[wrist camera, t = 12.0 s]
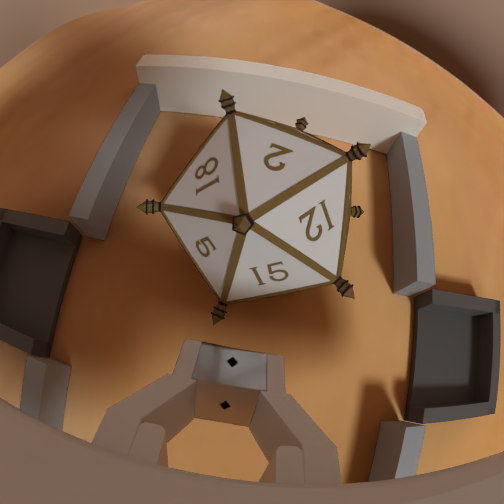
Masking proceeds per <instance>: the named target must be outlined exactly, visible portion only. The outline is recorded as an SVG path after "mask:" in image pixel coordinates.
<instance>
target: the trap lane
mask: <svg viewBox="0 0 504 504" xmlns="http://www.w3.org/2000/svg"><path fill="white" fill-rule="evenodd" d="M135 67H136V72H137V76H138V81H139V84H138V86H137V87H136V89H135V90H134V92H133V93H132V95H131V96H130V98H129V99H128V101H127V103H126V104H125V106H124V107H123V109H122V111H121V112H120V114H119V116H118V117H117V119H116V121H115V122H114V124H113V126H112V128H111V129H110V131H109V133H108V135H107V137H106V138H105V140H104V142H103V144H102V146H101V148H100V149H99V151H98V153H97V155H96V157H95V159H94V161H93V163H92V165H91V167H90V169H89V171H88V173H87V175H86V177H85V179H84V182H83V184H82V186H81V188H80V190H79V192H78V195H77V197H76V199H75V201H74V204H73V206H72V208H71V211H70V213H69V217H70V218H71V219H72V220H73V222H74V223H75V224H76V225H77V226H78V227H79V228H80V229H81V231H82V232H83V233H84V234H85V235H86V236H87V237H91V238H96V239H101V240H105V238H106V235H107V232H108V229H109V226H110V224H111V221H112V218H113V216H114V213H115V210H116V208H117V205H118V203H119V200H120V197H121V195H122V193H123V190H124V188H125V185H126V183H127V180H128V178H129V176H130V173H131V171H132V169H133V167H134V164H135V162H136V160H137V158H138V155H139V153H140V151H141V149H142V147H143V145H144V143H145V141H146V138H147V136H148V134H149V132H150V130H151V128H152V126H153V124H154V122H155V120H156V118H157V116H158V115H159V113H160V111H170V112H181V113H191V114H200V115H208V116H216V117H224V116H225V115H226V111H225V110H224V109H223V108H221V106H222V105H221V103H220V102H219V101H218V100H220V96H221V91H222V89H223V90H225V91H226V92H227V93H229V94H230V95H232V96H234V97H233V99H234V102H236V104H235V110H236V111H239V112H243V113H247V114H250V115H254V116H258V117H261V118H265V119H269V120H272V121H275V122H279V123H282V124H285V125H289V126H292V127H295V128H296V125H295V123H297V119H300V118H303V117H305V118H306V121H307V123H308V125H307V126H306V129H304V130H303V131H305V132H307V133H310V134H315V135H319V136H323V137H327V138H331V139H335V140H339V141H343V142H346V143H350V144H354V145H356V144H357V142H359V143H365V144H371V146H370V148H369V149H371V150H375V151H378V152H381V153H384V154H386V156H387V164H388V173H389V183H390V195H391V208H392V226H393V264H394V276H393V294H399V295H405V296H412V295H415V294H417V293H419V292H421V291H423V290H425V289H427V288H429V287H431V286H433V285H435V284H436V278H435V259H434V245H433V234H432V224H431V216H430V208H429V201H428V194H427V188H426V182H425V176H424V170H423V165H422V160H421V155H420V150H419V146H418V141H417V136H418V134H419V133H420V131H421V130H422V129H423V127H424V126H425V124H426V123H427V122H426V118H425V115H424V112H423V109H422V108H419V107H417V106H415V105H412V104H409V103H407V102H404V101H402V100H399V99H396V98H394V97H391V96H388V95H385V94H382V93H379V92H376V91H373V90H370V89H367V88H364V87H361V86H357V85H354V84H351V83H347V82H344V81H340V80H337V79H333V78H329V77H325V76H321V75H317V74H313V73H308V72H304V71H299V70H295V69H290V68H285V67H279V66H274V65H268V64H262V63H256V62H249V61H241V60H234V59H225V58H215V57H203V56H188V55H158V54H144V55H143V57H142V58H141V59H140V60H139V62H138V63H137V64H136V66H135ZM81 239H82V234H81V233H80V232H79V231H78V230H77V229H76V228H75V227H74V226H73V225H72V223H71V222H70V221H65V220H60V219H55V218H50V217H45V216H39V215H34V214H29V213H24V212H19V211H14V210H8V209H3V208H0V339H1V340H3V341H5V342H7V343H8V344H10V345H12V346H14V347H16V348H18V349H20V350H23V351H25V352H27V353H29V354H31V355H37V356H44V357H49V355H50V349H51V345H52V340H53V335H54V331H55V326H56V322H57V318H58V314H59V310H60V306H61V302H62V299H63V295H64V292H65V288H66V285H67V281H68V278H69V275H70V271H71V268H72V265H73V262H74V259H75V256H76V253H77V250H78V247H79V244H80V242H81ZM499 367H500V301H498V300H493V299H487V298H482V297H476V296H470V295H465V294H459V293H454V292H448V291H442V290H437V289H431V290H429V291H427V292H424V293H422V294H420V295H418V296H416V297H415V306H414V334H413V350H412V362H411V372H410V382H409V390H408V398H407V405H406V411H405V417H404V420H405V421H410V422H415V423H421V424H426V423H436V422H445V421H453V420H460V419H466V418H473V417H478V416H484V415H489V414H494V413H495V408H496V400H497V391H498V381H499ZM70 371H71V366H69V365H67V364H64V363H62V362H59V361H57V360H54V359H49V358H42V357H35V356H29V355H27V360H26V366H25V373H24V379H23V387H22V395H21V404H20V410H22V411H23V412H25V413H27V414H29V415H31V416H33V417H35V418H37V419H39V420H41V421H42V422H45V423H47V424H49V425H51V426H53V427H55V428H57V429H59V430H61V431H62V428H63V418H64V410H65V402H66V395H67V389H68V382H69V376H70ZM425 428H426V426H425V425H420V424H414V423H409V422H404V421H381V423H380V429H379V434H378V439H377V444H376V449H375V454H374V458H373V463H372V467H371V471H370V475H369V479H368V482H372V481H381V480H389V479H396V478H403V477H409V476H414V475H415V474H416V470H417V466H418V462H419V457H420V453H421V448H422V444H423V439H424V433H425Z"/></svg>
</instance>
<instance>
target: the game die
mask: <svg viewBox="0 0 504 504" xmlns="http://www.w3.org/2000/svg"><path fill="white" fill-rule="evenodd" d="M233 97H234V96H232V95H230V94H229V93H227V92H226V91H225V90H223V89H222V91H221V96H220V100H218V101H219V102H220V103H221V105H222V106H221V108H223V109H224V110H225V111H226V115H225V116H224V117H223V118H222V120H221V121H220V122H219V123H218V125H217V126H216V127H215V128H214V130H213V131H212V132H211V134H210V135H209V136H208V137H207V139H206V140H205V141H204V143H203V144H202V145H201V146H199V149H198V151H197V152H196V153H195V155H194V156H193V157H192V159H191V160H190V161H189V163H188V164H187V166H186V167H185V168H184V170H183V171H182V172H181V174H180V175H179V177H178V178H177V180H176V181H175V182H174V184H173V185H172V187H171V188H170V190H169V191H168V192H167V194H166V195H165V197H164V198H163V200H162V201H161V202H156V201H154V200H152V201H148V199H146V201H145V202H144V203H142V204H141V205H139V206H138V207H136V208H138V209H140V210H142V211H143V212H145V213H146V215H147V214H148V213H152V214H154V213H155V212H158V211H159V212H161V213H162V215H163V216H164V218H165V219H166V221H167V223H168V224H169V226H170V227H171V229H172V230H173V232H174V234H175V235H176V237H177V238H178V240H179V241H180V243H181V245H182V246H183V248H184V249H185V251H186V252H187V254H188V255H189V257H190V258H191V260H192V261H193V263H194V264H195V266H196V268H197V269H198V271H199V272H200V274H201V275H202V277H203V278H204V280H205V281H206V283H207V284H208V286H209V287H210V288H211V290H212V291H213V293H214V294H215V296H216V297H217V299H218V300H219V302H218V304H217V305H216V306H215V307H214V310H213V312H211V314H212V319H213V325H215V324H216V323H218V322H219V321H220V320H222V319H225V318H224V315H225V313H227V312H226V306H227V305H229V304H235V303H240V302H246V301H251V300H256V299H262V298H267V297H272V296H277V295H282V294H287V293H292V292H297V291H302V290H307V289H312V288H316V287H321V286H326V285H330V284H335V285H336V287H337V291H338V292H339V291H340V293H341V294H342V297H343V296H346V297H350V298H353V299H355V297H354V292H353V284H352V285H351V284H349V283H348V280H347V281H346V280H344V279H342V278H341V272H342V266H343V260H344V254H345V248H346V242H347V236H348V229H349V222H350V215H351V216H353V217H354V218H355V217H357V218H359V217H360V215H361V214H363V213H364V211H363V210H362V209H361V208H360V206H357V207H356V206H353V207H351V194H352V161H353V160H356V159H358V160H361V158H362V157H367V155H366V154H367V152H368V150H369V148H370V146H371V144H365V143H359V142H357V144H356V145H355V146H353V145H352V146H351V149H350V150H349V151H348V152H345V151H343V150H341V149H339V148H337V147H335V146H333V145H331V144H329V143H327V142H325V141H323V140H321V139H319V138H317V137H315V136H313V135H311V134H309V133H307V132H305V131H303V130H304V129H306V126H307V125H308V123H307V121H306V118H305V117H303V118H300V119H297V123H295V125H296V128H295V127H292V126H289V125H285V124H282V123H279V122H275V121H272V120H269V119H265V118H261V117H258V116H254V115H250V114H247V113H243V112H239V111H236V110H235V104H236V102H234V99H233Z"/></svg>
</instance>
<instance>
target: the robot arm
mask: <svg viewBox="0 0 504 504" xmlns="http://www.w3.org/2000/svg"><path fill="white" fill-rule="evenodd" d="M194 418H198V419H204V420H210V421H217V422H223V423H228V424H234V425H240V426H246V427H249V429H250V431H251V433H252V434H253V436H254V438H255V440H256V441H257V443H258V445H259V447H260V448H261V450H262V452H263V453H264V455H265V457H266V458H267V460H268V462H269V464H268V466H267V468H266V470H265V471H264V473H263V475H262V477H261V478H260V480H259V482H253V481H244V480H236V479H228V478H221V477H215V476H209V475H203V474H198V473H192V472H188V471H183V470H178V469H174V468H170V467H168V456H167V442H169V441H170V440H171V439H172V438H173V437H174V436H175V435H177V434H178V433H179V432H180V431H181V430H182V429H183V428H185V427H186V426H187V425H188V424H189V423H190V422H191V421H192V420H193V419H194ZM0 504H504V451H503V452H500V453H498V454H495V455H492V456H489V457H486V458H483V459H480V460H476V461H473V462H470V463H466V464H463V465H459V466H455V467H452V468H448V469H443V470H439V471H435V472H430V473H425V474H420V475H414V476H409V477H403V478H396V479H389V480H381V481H372V482H361V483H346V484H342V482H341V475H340V467H339V460H338V453H337V447H336V446H335V445H334V444H333V442H332V441H331V440H330V439H329V438H328V437H327V436H326V435H325V434H324V432H323V431H322V430H321V429H320V428H319V427H318V426H317V425H316V423H315V422H314V421H313V420H312V419H311V418H310V417H309V415H308V414H307V413H306V412H305V411H304V410H303V409H302V407H301V406H300V405H299V404H298V403H297V402H296V400H295V399H294V398H293V397H292V396H291V395H290V394H286V391H285V370H284V357H283V355H280V354H272V353H262V352H255V351H249V350H243V349H236V348H231V347H226V346H221V345H216V344H212V343H207V342H201V341H197V340H192V339H188V338H186V339H185V341H184V343H183V346H182V349H181V351H180V354H179V357H178V360H177V363H176V365H175V368H174V371H173V374H168V373H167V374H166V375H164V376H163V377H161V378H159V379H158V380H156V381H154V382H153V383H151V384H149V385H148V386H146V387H144V388H143V389H141V390H139V391H137V392H136V393H134V394H132V395H131V396H129V397H127V398H125V399H124V400H122V401H120V402H119V403H117V404H115V405H113V406H111V407H110V408H108V409H107V411H106V414H105V416H104V418H103V420H102V422H101V424H100V426H99V428H98V430H97V433H96V435H95V437H94V439H93V441H92V443H90V442H87V441H85V440H82V439H80V438H77V437H75V436H73V435H70V434H68V433H66V432H64V431H61V430H59V429H57V428H55V427H53V426H51V425H49V424H47V423H45V422H42V421H41V420H39V419H37V418H35V417H33V416H31V415H29V414H27V413H25V412H23V411H22V410H20V409H18V408H16V407H15V406H13V405H11V404H9V403H8V402H6V401H4V400H3V399H1V398H0Z"/></svg>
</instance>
